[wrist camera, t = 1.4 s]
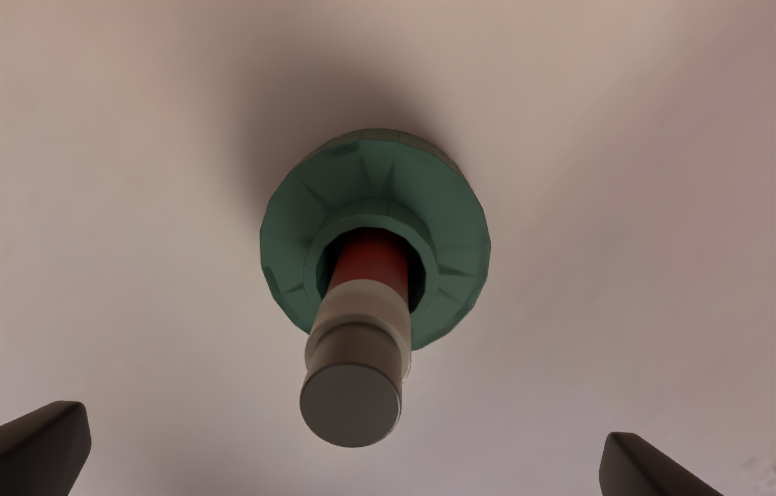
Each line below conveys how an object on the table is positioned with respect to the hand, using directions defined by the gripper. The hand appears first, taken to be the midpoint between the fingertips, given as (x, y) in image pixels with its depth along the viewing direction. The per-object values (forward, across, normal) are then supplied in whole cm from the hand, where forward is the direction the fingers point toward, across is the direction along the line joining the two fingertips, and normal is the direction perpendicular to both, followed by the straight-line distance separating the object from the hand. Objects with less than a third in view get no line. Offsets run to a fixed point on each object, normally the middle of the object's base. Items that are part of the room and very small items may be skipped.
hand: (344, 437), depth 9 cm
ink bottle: (+12, 0, 0) cm, 12 cm away
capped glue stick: (+11, 0, 0) cm, 11 cm away
